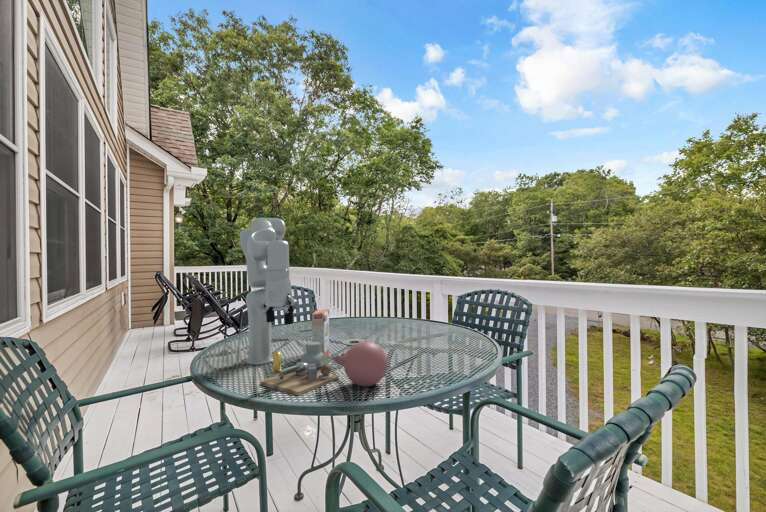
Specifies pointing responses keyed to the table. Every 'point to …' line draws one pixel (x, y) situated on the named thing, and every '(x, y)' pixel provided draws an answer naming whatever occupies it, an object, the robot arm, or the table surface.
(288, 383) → the base
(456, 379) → the table surface
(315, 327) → the cracker box
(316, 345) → the air freshener
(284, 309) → the robot arm
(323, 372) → the walnut ball
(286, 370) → the lever
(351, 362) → the balloon
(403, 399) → the table surface
